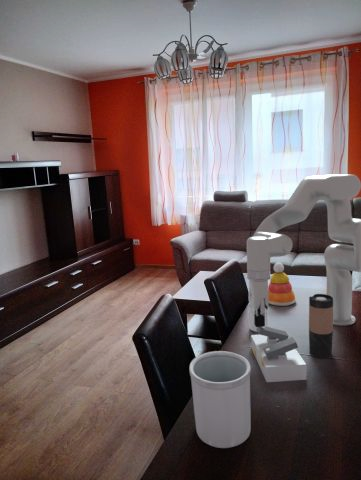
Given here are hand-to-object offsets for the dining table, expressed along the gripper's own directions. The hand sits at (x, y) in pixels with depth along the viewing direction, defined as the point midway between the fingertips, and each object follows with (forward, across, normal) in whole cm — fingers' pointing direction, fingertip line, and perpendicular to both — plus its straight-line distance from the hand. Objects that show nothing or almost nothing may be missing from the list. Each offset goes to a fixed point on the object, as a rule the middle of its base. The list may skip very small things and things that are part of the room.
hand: (259, 325), depth 127 cm
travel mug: (+11, +1, +20) cm, 23 cm away
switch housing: (+11, +5, +4) cm, 13 cm away
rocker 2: (+4, +11, +4) cm, 12 cm away
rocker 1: (+4, 0, +4) cm, 5 cm away
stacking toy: (+11, -49, +21) cm, 54 cm away
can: (+11, -21, +4) cm, 24 cm away
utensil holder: (+11, +35, -18) cm, 41 cm away
